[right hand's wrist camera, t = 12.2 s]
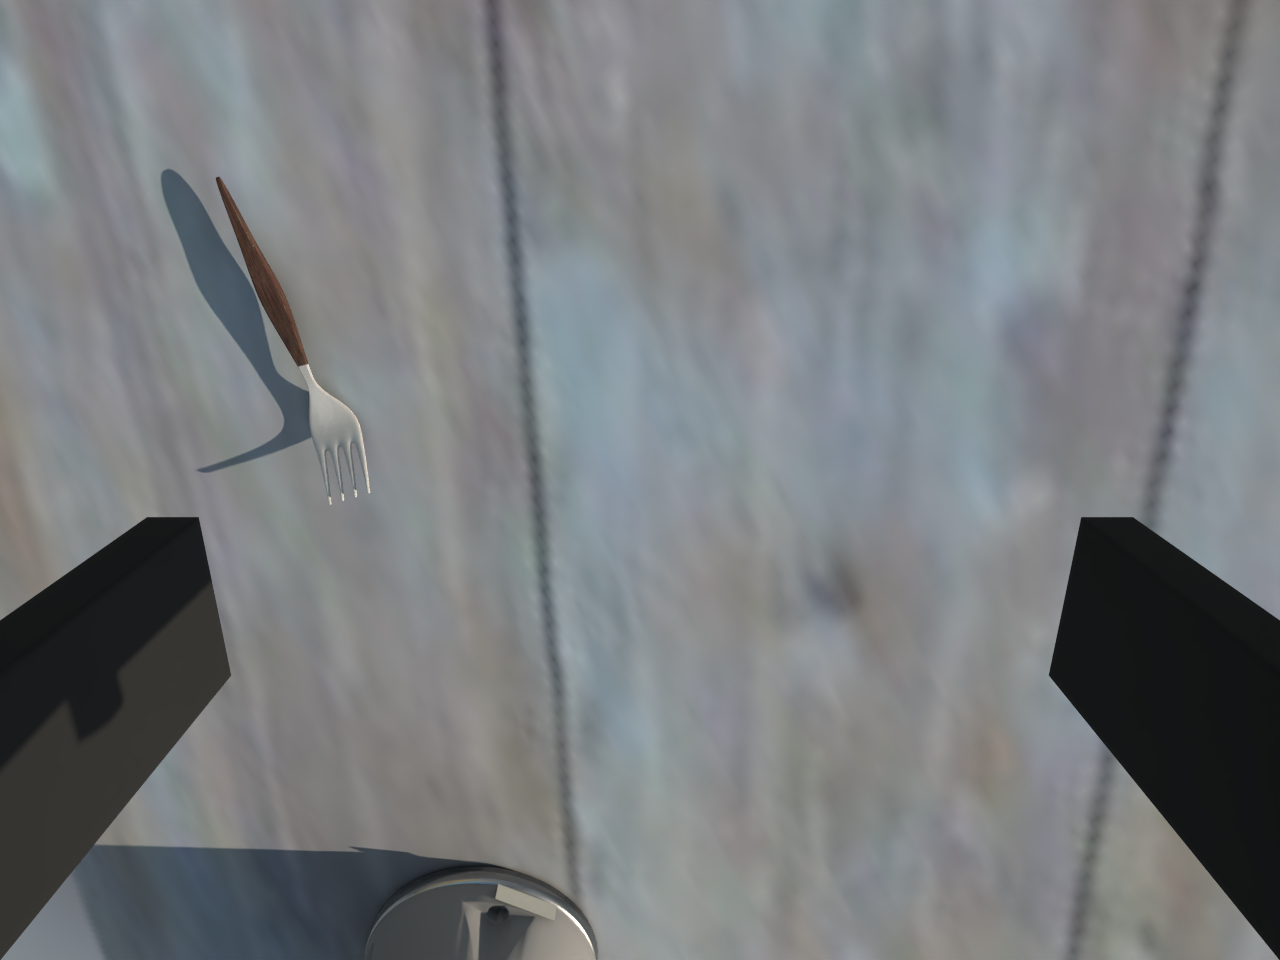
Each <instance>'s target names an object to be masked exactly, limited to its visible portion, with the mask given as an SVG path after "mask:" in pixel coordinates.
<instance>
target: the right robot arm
mask: <svg viewBox="0 0 1280 960" xmlns="http://www.w3.org/2000/svg"><path fill="white" fill-rule="evenodd" d="M230 676H231V673H230V668H229V663H228V658H227V653H226V648H225V643H224V638H223V634H222V629H221V624H220V619H219V614H218V609H217V604H216V600H215V595H214V590H213V585H212V580H211V575H210V570H209V566H208V561H207V556H206V551H205V546H204V541H203V536H202V531H201V527H200V522H199V517H147V518H145V519H144V520H143V521H141V522H140V523H138V524H137V525H135V526H134V527H133V528H131V529H130V530H128V531H127V532H125V533H124V534H123V535H121V536H120V537H118V538H117V539H116V540H114V541H113V542H111V543H110V544H108V545H107V546H106V547H104V548H103V549H101V550H100V551H98V552H97V553H96V554H94V555H93V556H91V557H90V558H88V559H87V560H86V561H84V562H83V563H81V564H80V565H79V566H77V567H76V568H74V569H73V570H71V571H70V572H69V573H67V574H66V575H64V576H63V577H61V578H60V579H59V580H57V581H56V582H54V583H53V584H51V585H50V586H49V587H47V588H46V589H44V590H43V591H42V592H40V593H39V594H37V595H36V596H34V597H33V598H32V599H30V600H29V601H27V602H26V603H24V604H23V605H22V606H20V607H19V608H17V609H16V610H14V611H13V612H12V613H10V614H9V615H7V616H6V617H5V618H3V619H2V620H0V960H1V959H2V957H3V956H4V955H5V954H6V952H7V951H8V950H9V949H10V947H11V946H12V945H13V944H14V943H15V941H16V940H17V939H18V938H19V936H20V935H21V934H22V933H23V931H24V930H25V929H26V928H27V927H28V925H29V924H30V923H31V922H32V920H33V919H34V918H35V917H36V915H37V914H38V913H39V912H40V910H41V909H42V908H43V907H44V905H45V904H46V903H47V902H48V901H49V899H50V898H51V897H52V896H53V894H54V893H55V892H56V891H57V889H58V888H59V887H60V886H61V885H62V883H63V882H64V881H65V880H66V878H67V877H68V876H69V875H70V873H71V872H72V871H73V870H74V869H75V867H76V866H77V865H78V864H79V862H80V861H81V860H82V859H83V857H84V856H85V855H86V854H87V852H88V851H89V850H90V849H91V848H92V846H93V845H94V844H95V843H96V841H97V840H98V839H99V838H100V836H101V835H102V834H103V833H104V832H105V830H106V829H107V828H108V827H109V825H110V824H111V823H112V822H113V820H114V819H115V818H116V817H117V815H118V814H119V813H120V812H121V811H122V809H123V808H124V807H125V806H126V804H127V803H128V802H129V801H130V799H131V798H132V797H133V796H134V795H135V793H136V792H137V791H138V790H139V788H140V787H141V786H142V785H143V783H144V782H145V781H146V780H147V778H148V777H149V776H150V775H151V774H152V772H153V771H154V770H155V769H156V767H157V766H158V765H159V764H160V762H161V761H162V760H163V759H164V758H165V756H166V755H167V754H168V753H169V751H170V750H171V749H172V748H173V746H174V745H175V744H176V743H177V741H178V740H179V739H180V738H181V737H182V735H183V734H184V733H185V732H186V730H187V729H188V728H189V727H190V725H191V724H192V723H193V722H194V721H195V719H196V718H197V717H198V716H199V714H200V713H201V712H202V711H203V709H204V708H205V707H206V706H207V704H208V703H209V702H210V701H211V700H212V698H213V697H214V696H215V695H216V693H217V692H218V691H219V690H220V688H221V687H222V686H223V685H224V684H225V682H226V681H227V680H228V679H229V677H230ZM1049 676H1050V677H1051V679H1052V680H1053V681H1054V682H1055V684H1056V685H1057V686H1058V687H1059V688H1060V690H1061V691H1062V692H1063V693H1064V695H1065V696H1066V697H1067V698H1068V700H1069V701H1070V702H1071V703H1072V704H1073V706H1074V707H1075V708H1076V709H1077V711H1078V712H1079V713H1080V714H1081V716H1082V717H1083V718H1084V719H1085V721H1086V722H1087V723H1088V724H1089V725H1090V727H1091V728H1092V729H1093V730H1094V732H1095V733H1096V734H1097V735H1098V737H1099V738H1100V739H1101V740H1102V741H1103V743H1104V744H1105V745H1106V746H1107V748H1108V749H1109V750H1110V751H1111V753H1112V754H1113V755H1114V756H1115V758H1116V759H1117V760H1118V761H1119V762H1120V764H1121V765H1122V766H1123V767H1124V769H1125V770H1126V771H1127V772H1128V774H1129V775H1130V776H1131V777H1132V778H1133V780H1134V781H1135V782H1136V783H1137V785H1138V786H1139V787H1140V788H1141V790H1142V791H1143V792H1144V793H1145V795H1146V796H1147V797H1148V798H1149V799H1150V801H1151V802H1152V803H1153V804H1154V806H1155V807H1156V808H1157V809H1158V811H1159V812H1160V813H1161V814H1162V815H1163V817H1164V818H1165V819H1166V820H1167V822H1168V823H1169V824H1170V825H1171V827H1172V828H1173V829H1174V830H1175V832H1176V833H1177V834H1178V835H1179V836H1180V838H1181V839H1182V840H1183V841H1184V843H1185V844H1186V845H1187V846H1188V848H1189V849H1190V850H1191V851H1192V852H1193V854H1194V855H1195V856H1196V857H1197V859H1198V860H1199V861H1200V862H1201V864H1202V865H1203V866H1204V867H1205V869H1206V870H1207V871H1208V872H1209V873H1210V875H1211V876H1212V877H1213V878H1214V880H1215V881H1216V882H1217V883H1218V885H1219V886H1220V887H1221V888H1222V889H1223V891H1224V892H1225V893H1226V894H1227V896H1228V897H1229V898H1230V899H1231V901H1232V902H1233V903H1234V904H1235V906H1236V907H1237V908H1238V909H1239V910H1240V912H1241V913H1242V914H1243V915H1244V917H1245V918H1246V919H1247V920H1248V922H1249V923H1250V924H1251V925H1252V927H1253V928H1254V929H1255V930H1256V931H1257V933H1258V934H1259V935H1260V936H1261V938H1262V939H1263V940H1264V941H1265V943H1266V944H1267V945H1268V946H1269V947H1270V949H1271V950H1272V951H1273V952H1274V954H1275V955H1276V956H1277V957H1278V959H1279V960H1280V620H1278V619H1277V618H1275V617H1274V616H1273V615H1271V614H1270V613H1268V612H1267V611H1266V610H1264V609H1263V608H1261V607H1260V606H1258V605H1257V604H1256V603H1254V602H1253V601H1251V600H1250V599H1248V598H1247V597H1246V596H1244V595H1243V594H1241V593H1240V592H1238V591H1237V590H1236V589H1234V588H1233V587H1231V586H1230V585H1229V584H1227V583H1226V582H1224V581H1223V580H1221V579H1220V578H1219V577H1217V576H1216V575H1214V574H1213V573H1211V572H1210V571H1209V570H1207V569H1206V568H1204V567H1203V566H1201V565H1200V564H1199V563H1197V562H1196V561H1194V560H1193V559H1192V558H1190V557H1189V556H1187V555H1186V554H1184V553H1183V552H1182V551H1180V550H1179V549H1177V548H1176V547H1174V546H1173V545H1172V544H1170V543H1169V542H1167V541H1166V540H1164V539H1163V538H1162V537H1160V536H1159V535H1157V534H1156V533H1155V532H1153V531H1152V530H1150V529H1149V528H1147V527H1146V526H1145V525H1143V524H1142V523H1140V522H1139V521H1137V520H1136V519H1135V518H1133V517H1081V522H1080V527H1079V531H1078V536H1077V541H1076V546H1075V551H1074V556H1073V561H1072V566H1071V570H1070V575H1069V580H1068V585H1067V590H1066V595H1065V600H1064V604H1063V609H1062V614H1061V619H1060V624H1059V629H1058V634H1057V638H1056V643H1055V648H1054V653H1053V658H1052V663H1051V668H1050V673H1049ZM363 960H598V950H597V943H596V939H595V935H594V933H593V930H592V928H591V926H590V924H589V922H588V920H587V919H586V917H585V916H584V914H583V913H582V912H581V910H580V909H579V908H578V907H577V906H576V905H575V904H574V903H573V902H572V901H571V900H570V899H569V898H568V897H566V896H565V895H564V894H562V893H561V892H560V891H558V890H557V889H555V888H554V887H552V886H550V885H549V884H547V883H545V882H543V881H541V880H538V879H536V878H534V877H531V876H529V875H526V874H522V873H519V872H516V871H511V870H507V869H501V868H494V867H476V866H472V867H459V868H452V869H446V870H442V871H438V872H435V873H431V874H428V875H426V876H423V877H421V878H418V879H416V880H415V881H413V882H411V883H409V884H407V885H406V886H404V887H403V888H401V889H400V890H399V891H397V892H396V893H395V894H394V895H393V896H392V897H391V898H390V899H389V900H388V901H387V902H386V903H385V904H384V906H383V907H382V908H381V910H380V912H379V913H378V915H377V917H376V919H375V921H374V924H373V927H372V929H371V932H370V935H369V938H368V941H367V944H366V948H365V954H364V959H363Z"/></svg>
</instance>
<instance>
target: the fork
mask: <svg viewBox="0 0 1280 960" xmlns="http://www.w3.org/2000/svg"><path fill="white" fill-rule="evenodd" d="M216 181H217V185H218V188H219V191H220V194H221V196H222V199H223V202H224V205H225V208H226V210H227V213H228V216H229V218H230V221H231V224H232V226H233V229H234V232H235V234H236V237H237V240H238V242H239V245H240V248H241V251H242V254H243V256H244V259H245V262H246V265H247V268H248V271H249V274H250V276H251V279H252V282H253V285H254V287H255V290H256V292H257V295H258V297H259V299H260V301H261V303H262V305H263V307H264V309H265V311H266V313H267V315H268V317H269V318H270V320H271V322H272V324H273V325H274V327H275V329H276V330H277V332H278V334H279V335H280V337H281V339H282V341H283V342H284V344H285V346H286V347H287V349H288V351H289V352H290V354H291V356H292V357H293V359H294V361H295V362H296V364H297V366H298V368H299V369H300V371H301V373H302V375H303V377H304V379H305V381H306V383H307V386H308V389H309V425H310V432H311V436H312V439H313V442H314V445H315V448H316V451H317V454H318V458H319V461H320V465H321V469H322V474H323V478H324V482H325V487H326V491H327V496H328V503H329V505H331V495H330V486H329V477H328V469H327V462H326V451H327V450H329V451H330V453H331V456H332V459H333V463H334V467H335V471H336V475H337V480H338V484H339V489H340V493H341V498H342V501H344V493H343V484H342V476H341V468H340V461H339V453H338V449H339V447H340V446H341V447H342V448H343V450H344V453H345V456H346V460H347V464H348V468H349V473H350V477H351V481H352V486H353V490H354V495H355V497H357V491H356V482H355V474H354V466H353V459H352V452H351V444H352V443H355V445H356V447H357V450H358V453H359V457H360V461H361V465H362V470H363V474H364V478H365V482H366V487H367V493H370V488H369V480H368V472H367V464H366V457H365V451H364V445H363V439H362V433H361V428H360V425H359V422H358V420H357V418H356V416H355V415H354V413H353V412H352V411H351V410H350V409H349V408H348V407H347V406H346V405H344V404H343V403H342V402H340V401H339V400H337V399H336V398H334V397H333V396H331V395H330V394H328V393H327V392H326V391H324V390H323V389H322V388H321V387H320V386H319V385H318V384H317V383H316V381H315V379H314V377H313V375H312V373H311V370H310V367H309V364H308V361H307V358H306V355H305V352H304V349H303V346H302V343H301V339H300V336H299V333H298V330H297V327H296V324H295V321H294V318H293V315H292V312H291V309H290V307H289V304H288V301H287V299H286V297H285V294H284V292H283V290H282V288H281V286H280V284H279V282H278V280H277V279H276V277H275V275H274V273H273V271H272V270H271V268H270V266H269V264H268V263H267V261H266V259H265V257H264V256H263V254H262V252H261V251H260V249H259V247H258V245H257V243H256V242H255V240H254V238H253V236H252V234H251V232H250V231H249V229H248V227H247V225H246V223H245V221H244V219H243V217H242V216H241V214H240V212H239V210H238V208H237V206H236V204H235V202H234V201H233V199H232V197H231V195H230V193H229V191H228V190H227V188H226V186H225V185H224V183H223V181H222V180H221V178H220V177H217V178H216Z"/></svg>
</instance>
